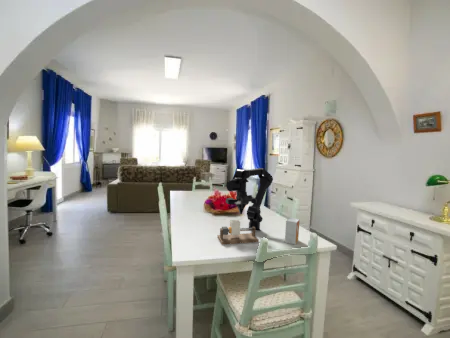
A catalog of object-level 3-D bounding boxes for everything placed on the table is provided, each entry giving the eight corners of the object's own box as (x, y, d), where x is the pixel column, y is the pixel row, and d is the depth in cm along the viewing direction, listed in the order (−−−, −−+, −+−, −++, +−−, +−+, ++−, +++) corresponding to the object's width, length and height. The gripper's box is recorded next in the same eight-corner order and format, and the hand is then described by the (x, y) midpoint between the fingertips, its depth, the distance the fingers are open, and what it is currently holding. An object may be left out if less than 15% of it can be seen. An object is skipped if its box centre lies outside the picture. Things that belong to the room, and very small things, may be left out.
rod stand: (251, 235, 149) (252, 223, 148) (258, 242, 138) (259, 228, 138) (217, 237, 143) (217, 224, 143) (221, 244, 133) (222, 231, 132)
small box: (295, 244, 136) (296, 222, 135) (284, 242, 139) (285, 220, 138) (298, 240, 143) (299, 219, 142) (287, 238, 146) (289, 217, 145)
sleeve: (237, 232, 143) (238, 219, 142) (239, 234, 138) (240, 222, 138) (229, 232, 141) (230, 220, 141) (231, 235, 137) (232, 222, 137)
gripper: (231, 192, 138) (230, 218, 140) (260, 191, 144) (259, 216, 145) (225, 189, 149) (225, 213, 150) (253, 188, 154) (252, 211, 156)
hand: (240, 214), depth 150 cm, fingers closed
